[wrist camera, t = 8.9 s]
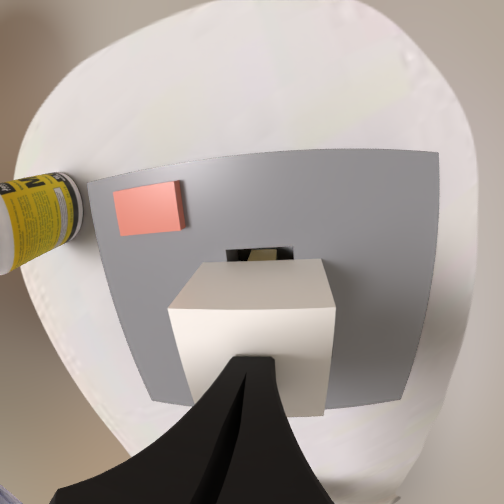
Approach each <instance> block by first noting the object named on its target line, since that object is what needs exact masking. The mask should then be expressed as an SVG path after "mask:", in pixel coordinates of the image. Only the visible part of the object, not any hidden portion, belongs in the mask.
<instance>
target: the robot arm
mask: <svg viewBox="0 0 504 504" xmlns="http://www.w3.org/2000/svg"><path fill="white" fill-rule="evenodd" d="M0 504H23V503H22V502H21V501H19V500H18V499H17V498H16V497H15V496H14V495H12V494H11V493H10V492H9V491H8V490H6V489H5V488H4V487H3V486H2V485H0ZM49 504H334V502H333V501H332V500H331V498H330V497H329V495H328V494H327V492H326V491H325V489H324V488H323V486H322V485H321V483H320V482H319V480H318V479H317V477H316V476H315V474H314V473H313V471H312V469H311V467H310V466H309V464H308V462H307V460H306V459H305V457H304V455H303V453H302V451H301V449H300V447H299V445H298V443H297V441H296V438H295V436H294V434H293V432H292V429H291V427H290V424H289V422H288V419H287V417H286V414H285V411H284V408H283V405H282V402H281V399H280V395H279V392H278V388H277V383H276V370H275V359H274V358H273V357H271V356H267V357H244V356H233V357H232V358H231V359H230V360H229V362H228V363H227V364H226V366H225V367H224V369H223V370H222V372H221V373H220V374H219V376H218V377H217V378H216V380H215V381H214V382H213V383H212V385H211V386H210V387H209V388H208V390H207V391H206V392H205V393H204V394H203V396H202V397H201V398H200V399H199V400H198V401H197V402H196V404H195V405H194V406H193V407H192V408H191V409H190V410H189V411H188V412H187V413H186V414H185V415H184V416H183V417H182V418H181V419H180V420H179V421H178V422H177V423H176V424H175V425H174V426H173V427H172V428H170V429H169V430H168V431H167V432H166V433H165V434H163V435H162V436H161V437H160V438H158V439H157V440H156V441H155V442H153V443H152V444H151V445H149V446H148V447H146V448H145V449H144V450H142V451H141V452H139V453H138V454H136V455H135V456H133V457H132V458H130V459H128V460H127V461H125V462H123V463H121V464H119V465H118V466H115V467H114V468H112V469H110V470H108V471H106V472H104V473H102V474H100V475H97V476H95V477H93V478H90V479H87V480H85V481H82V482H79V483H76V484H73V485H70V486H67V487H64V488H60V489H58V490H57V491H56V493H55V495H54V497H53V498H52V500H51V501H50V503H49Z"/></svg>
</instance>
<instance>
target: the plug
mask: <svg viewBox="0 0 504 504" xmlns="http://www.w3.org/2000/svg"><path fill="white" fill-rule="evenodd" d="M167 309H168V313H169V317H170V321H171V325H172V329H173V333H174V337H175V340H176V344H177V348H178V351H179V355H180V359H181V362H182V365H183V369H184V372H185V375H186V379H187V382H188V385H189V388H190V391H191V395H192V398H193V401H194V404H196V402H197V401H198V400H199V399H200V398H201V397H202V396H203V394H204V393H205V392H206V391H207V390H208V388H209V387H210V386H211V385H212V383H213V382H214V381H215V380H216V378H217V377H218V376H219V374H220V373H221V372H222V370H223V369H224V367H225V366H226V364H227V363H228V362H229V360H230V359H231V358H232V357H233V356H244V357H267V356H271V357H273V358H274V359H275V370H276V383H277V388H278V392H279V395H280V399H281V402H282V405H283V408H284V411H285V414H286V417H311V416H323V415H324V409H325V403H326V396H327V389H328V382H329V374H330V366H331V357H332V347H333V337H334V325H335V312H336V306H335V303H334V299H333V296H332V293H331V289H330V286H329V283H328V279H327V276H326V273H325V270H324V267H323V264H322V260H321V259H298V260H277V249H265V250H251V253H250V255H249V258H248V261H237V262H203V263H202V264H201V265H200V267H199V268H198V269H197V270H196V272H195V273H194V274H193V276H192V277H191V278H190V279H189V281H188V282H187V283H186V285H185V286H184V287H183V289H182V290H181V291H180V292H179V294H178V295H177V296H176V298H175V299H174V300H173V302H172V303H171V304H170V306H169V307H168V308H167Z"/></svg>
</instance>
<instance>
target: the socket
mask: <svg viewBox="0 0 504 504" xmlns="http://www.w3.org/2000/svg"><path fill="white" fill-rule="evenodd" d="M87 188H88V195H89V201H90V207H91V213H92V218H93V224H94V229H95V233H96V238H97V243H98V247H99V251H100V256H101V260H102V264H103V267H104V271H105V275H106V279H107V282H108V286H109V289H110V293H111V296H112V299H113V302H114V306H115V309H116V312H117V315H118V318H119V321H120V324H121V327H122V329H123V332H124V335H125V338H126V340H127V343H128V346H129V348H130V351H131V353H132V356H133V358H134V361H135V363H136V366H137V368H138V371H139V373H140V375H141V377H142V380H143V382H144V384H145V386H146V389H147V391H148V393H149V395H150V397H151V399H152V401H157V402H163V403H170V404H176V405H184V406H192V407H193V406H194V405H195V404H194V401H193V398H192V395H191V391H190V388H189V385H188V382H187V379H186V375H185V372H184V369H183V365H182V362H181V359H180V355H179V351H178V348H177V344H176V340H175V337H174V333H173V329H172V325H171V321H170V317H169V313H168V309H167V308H168V307H169V306H170V304H171V303H172V302H173V300H174V299H175V298H176V296H177V295H178V294H179V292H180V291H181V290H182V289H183V287H184V286H185V285H186V283H187V282H188V281H189V279H190V278H191V277H192V276H193V274H194V273H195V272H196V270H197V269H198V268H199V267H200V265H201V264H202V263H203V262H237V261H239V257H238V249H249V248H267V247H286V246H293V255H294V260H298V259H321V260H322V264H323V267H324V270H325V273H326V276H327V279H328V283H329V286H330V289H331V293H332V296H333V299H334V303H335V306H336V312H335V325H334V337H333V347H332V357H331V366H330V374H329V382H328V389H327V396H326V403H325V409H336V408H346V407H355V406H363V405H370V404H377V403H383V402H389V401H394V400H400V399H401V397H402V394H403V392H404V389H405V386H406V383H407V380H408V377H409V374H410V371H411V368H412V365H413V361H414V358H415V355H416V351H417V347H418V344H419V340H420V336H421V332H422V328H423V324H424V319H425V315H426V310H427V305H428V300H429V295H430V289H431V283H432V276H433V270H434V262H435V254H436V244H437V233H438V218H439V153H438V152H427V151H413V150H393V149H313V150H293V151H278V152H265V153H254V154H244V155H234V156H226V157H218V158H210V159H203V160H196V161H190V162H183V163H177V164H171V165H166V166H160V167H155V168H149V169H144V170H139V171H135V172H130V173H125V174H121V175H116V176H112V177H108V178H104V179H100V180H96V181H92V182H88V183H87Z"/></svg>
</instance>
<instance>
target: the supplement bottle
mask: <svg viewBox="0 0 504 504" xmlns="http://www.w3.org/2000/svg"><path fill="white" fill-rule="evenodd" d="M82 218H83V206H82V200H81V196H80V193H79V190H78V188H77V186H76V184H75V183H74V181H73V180H72V179H71V178H70V177H69V176H67V175H66V174H64V173H60V172H54V173H48V174H42V175H37V176H32V177H27V178H22V179H18V180H13V181H9V182H5V183H0V275H3V274H6V273H8V272H10V271H12V270H14V269H16V268H17V267H19V266H21V265H23V264H25V263H27V262H28V261H30V260H32V259H34V258H36V257H38V256H40V255H42V254H44V253H46V252H48V251H50V250H52V249H54V248H56V247H58V246H61V245H63V244H65V243H67V242H69V241H70V240H72V239H73V238H74V237H75V236H76V235H77V233H78V231H79V230H80V227H81V223H82Z"/></svg>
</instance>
